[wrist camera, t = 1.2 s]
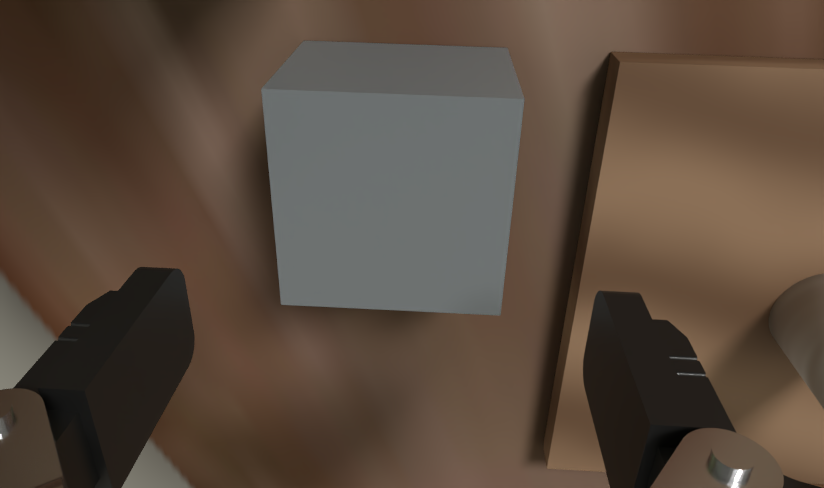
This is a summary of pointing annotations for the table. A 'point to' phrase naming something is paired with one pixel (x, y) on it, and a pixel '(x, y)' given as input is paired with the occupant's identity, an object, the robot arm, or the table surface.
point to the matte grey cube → (393, 175)
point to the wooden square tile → (709, 242)
